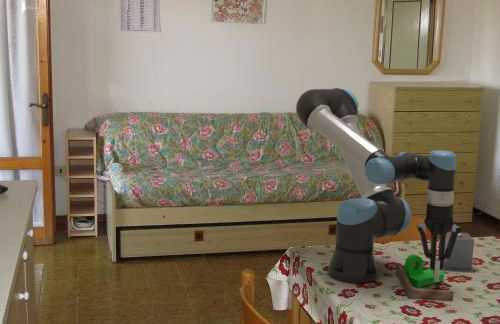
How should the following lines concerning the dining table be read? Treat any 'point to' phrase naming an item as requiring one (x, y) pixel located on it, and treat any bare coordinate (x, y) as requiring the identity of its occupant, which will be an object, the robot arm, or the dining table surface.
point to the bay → (421, 292)
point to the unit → (460, 254)
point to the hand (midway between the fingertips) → (435, 280)
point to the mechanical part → (419, 272)
